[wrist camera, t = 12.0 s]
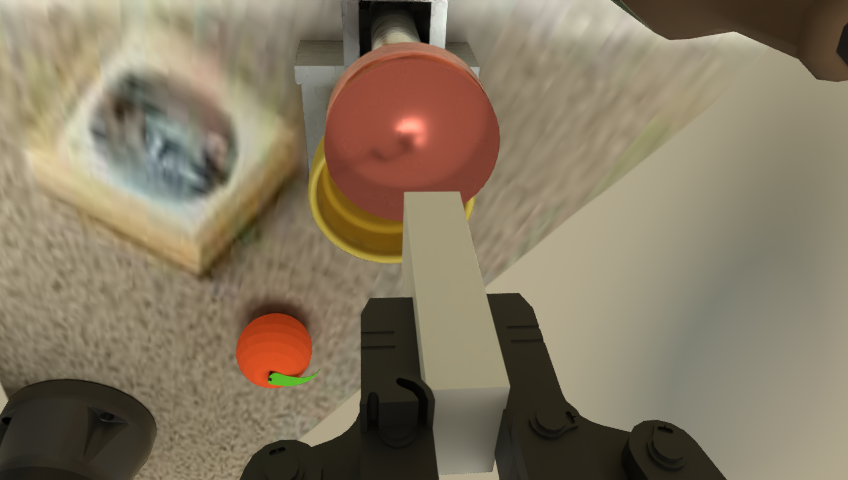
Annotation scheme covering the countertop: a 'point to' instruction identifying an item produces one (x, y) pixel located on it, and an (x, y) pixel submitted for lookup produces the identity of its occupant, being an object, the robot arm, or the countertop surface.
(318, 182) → the plant pot
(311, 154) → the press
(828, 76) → the beer bottle
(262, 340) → the clementine
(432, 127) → the ram
